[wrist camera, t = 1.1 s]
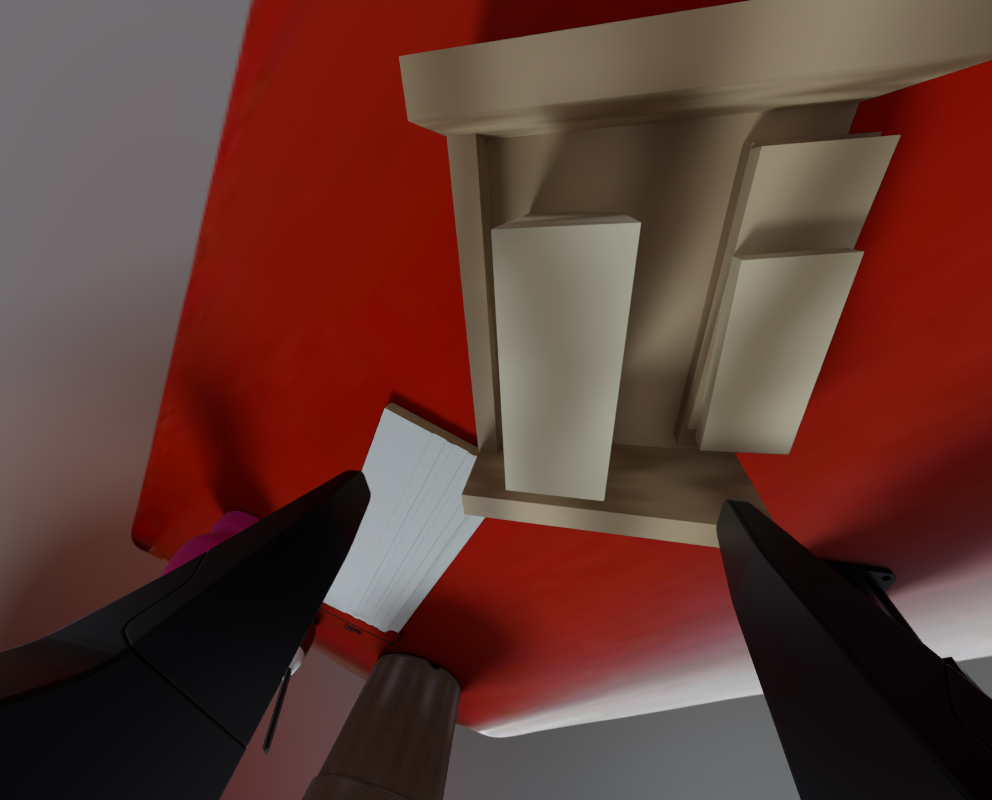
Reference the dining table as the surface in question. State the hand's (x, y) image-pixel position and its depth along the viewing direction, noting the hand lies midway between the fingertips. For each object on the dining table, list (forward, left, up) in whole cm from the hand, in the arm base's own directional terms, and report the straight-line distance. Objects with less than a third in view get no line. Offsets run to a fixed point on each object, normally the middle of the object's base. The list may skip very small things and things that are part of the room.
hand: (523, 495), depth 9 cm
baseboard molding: (+14, +22, -14) cm, 30 cm away
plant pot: (+17, +49, -13) cm, 54 cm away
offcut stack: (-9, -1, -12) cm, 15 cm away
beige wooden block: (-1, -1, -12) cm, 12 cm away
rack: (-3, -1, -13) cm, 14 cm away
